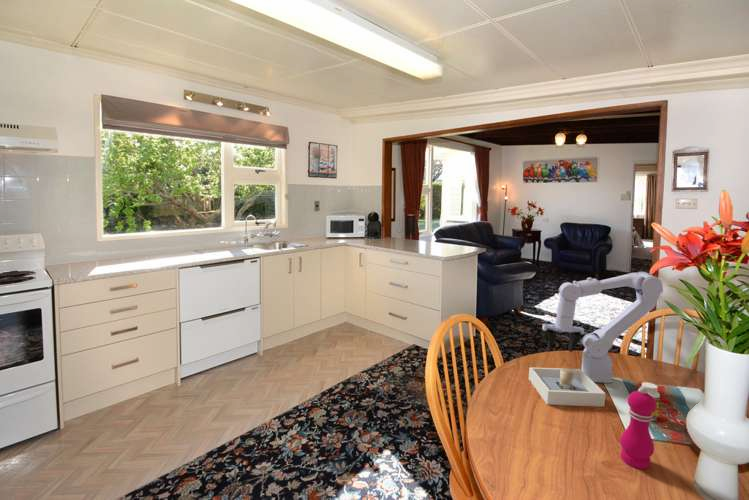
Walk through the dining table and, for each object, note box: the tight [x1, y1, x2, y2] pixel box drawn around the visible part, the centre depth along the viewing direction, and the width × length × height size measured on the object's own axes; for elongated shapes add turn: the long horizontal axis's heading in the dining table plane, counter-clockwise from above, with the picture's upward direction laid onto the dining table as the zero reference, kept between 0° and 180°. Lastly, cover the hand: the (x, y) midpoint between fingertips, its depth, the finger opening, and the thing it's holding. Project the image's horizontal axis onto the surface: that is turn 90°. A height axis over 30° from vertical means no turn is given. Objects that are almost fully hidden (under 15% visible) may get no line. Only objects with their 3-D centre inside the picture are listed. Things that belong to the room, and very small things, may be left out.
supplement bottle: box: [637, 381, 661, 422], centre depth 124 cm, size 6×6×10 cm
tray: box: [528, 367, 607, 407], centre depth 139 cm, size 18×18×4 cm
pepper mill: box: [619, 386, 656, 470], centre depth 102 cm, size 7×7×20 cm
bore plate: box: [541, 377, 589, 392], centre depth 138 cm, size 12×12×2 cm
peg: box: [559, 368, 573, 389], centre depth 138 cm, size 4×4×7 cm
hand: (559, 350), depth 152 cm, fingers open, 7 cm apart
